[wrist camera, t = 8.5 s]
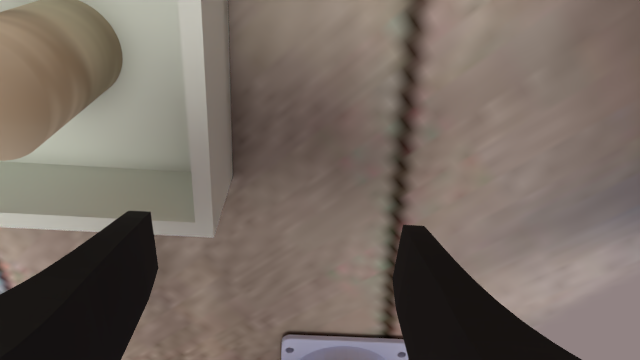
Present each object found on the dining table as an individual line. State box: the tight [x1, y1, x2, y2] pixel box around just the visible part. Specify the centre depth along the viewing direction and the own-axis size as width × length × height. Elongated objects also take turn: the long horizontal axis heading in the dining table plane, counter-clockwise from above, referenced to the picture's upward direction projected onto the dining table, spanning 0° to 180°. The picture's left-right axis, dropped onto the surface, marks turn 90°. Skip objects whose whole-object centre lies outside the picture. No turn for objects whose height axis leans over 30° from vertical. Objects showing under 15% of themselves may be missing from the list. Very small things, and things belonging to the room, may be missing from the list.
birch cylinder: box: [0, 0, 123, 161], centre depth 16 cm, size 4×4×6 cm
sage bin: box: [0, 0, 233, 238], centre depth 17 cm, size 12×12×5 cm
